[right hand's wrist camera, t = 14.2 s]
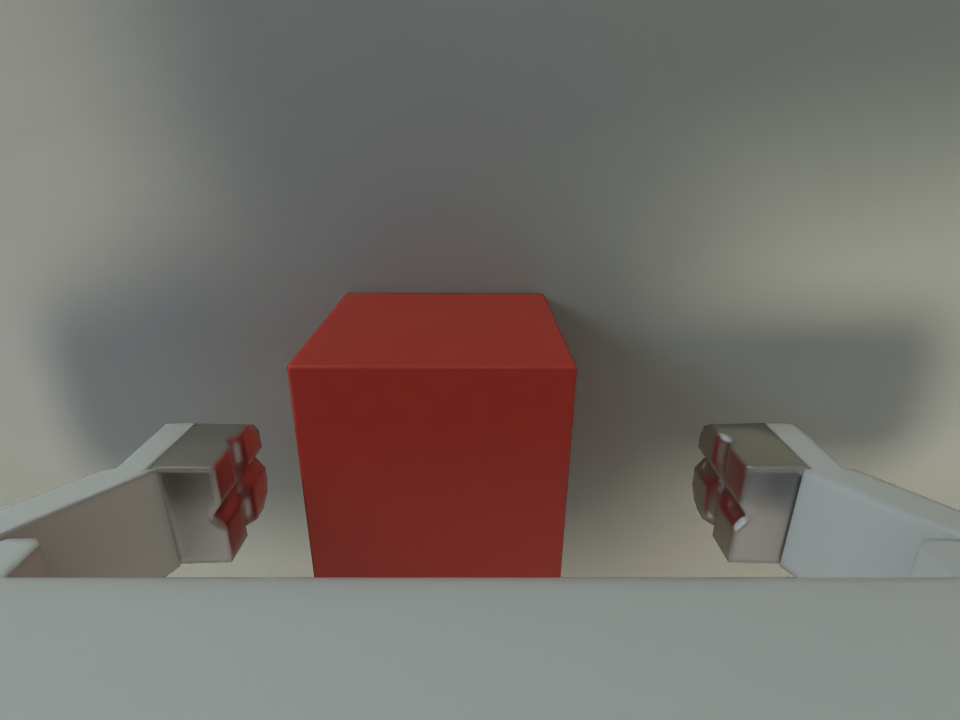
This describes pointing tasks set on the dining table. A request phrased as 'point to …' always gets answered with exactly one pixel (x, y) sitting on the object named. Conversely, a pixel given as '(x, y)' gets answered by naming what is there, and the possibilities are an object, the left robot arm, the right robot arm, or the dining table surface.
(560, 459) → the brick
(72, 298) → the dining table surface
